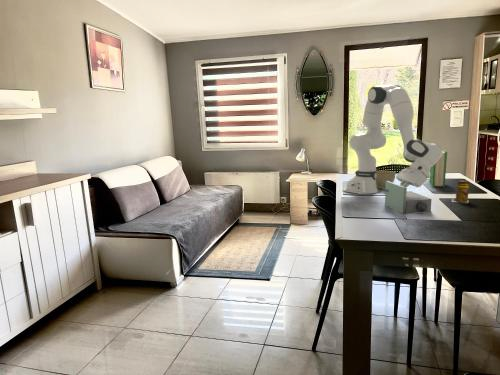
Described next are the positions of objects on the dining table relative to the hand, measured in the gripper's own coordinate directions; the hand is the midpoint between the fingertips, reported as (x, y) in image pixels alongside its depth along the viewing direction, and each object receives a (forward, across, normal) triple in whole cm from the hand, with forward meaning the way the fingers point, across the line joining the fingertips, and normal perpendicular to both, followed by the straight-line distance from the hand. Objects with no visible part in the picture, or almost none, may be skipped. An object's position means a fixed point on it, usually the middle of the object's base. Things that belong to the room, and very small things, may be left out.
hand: (400, 188), depth 201 cm
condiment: (-20, -6, +37) cm, 43 cm away
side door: (+10, 0, +6) cm, 12 cm away
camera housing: (+4, 0, +12) cm, 12 cm away
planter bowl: (-4, -52, +20) cm, 56 cm away
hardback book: (-32, -50, +48) cm, 77 cm away
